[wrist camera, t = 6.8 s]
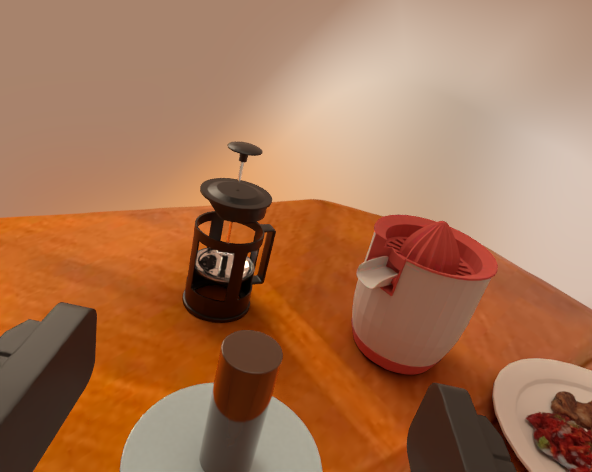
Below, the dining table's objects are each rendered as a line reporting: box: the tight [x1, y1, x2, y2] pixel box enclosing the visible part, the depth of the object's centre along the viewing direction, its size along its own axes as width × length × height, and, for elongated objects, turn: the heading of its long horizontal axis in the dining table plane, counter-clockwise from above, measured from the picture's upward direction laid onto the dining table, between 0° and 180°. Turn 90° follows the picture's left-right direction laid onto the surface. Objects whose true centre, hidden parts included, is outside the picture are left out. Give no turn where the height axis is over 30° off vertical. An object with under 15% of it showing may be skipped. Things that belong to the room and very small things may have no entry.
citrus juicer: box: [352, 215, 498, 375], centre depth 60 cm, size 16×17×20 cm
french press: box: [183, 142, 276, 323], centre depth 59 cm, size 12×9×23 cm
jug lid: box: [120, 330, 322, 472], centre depth 27 cm, size 13×13×10 cm
